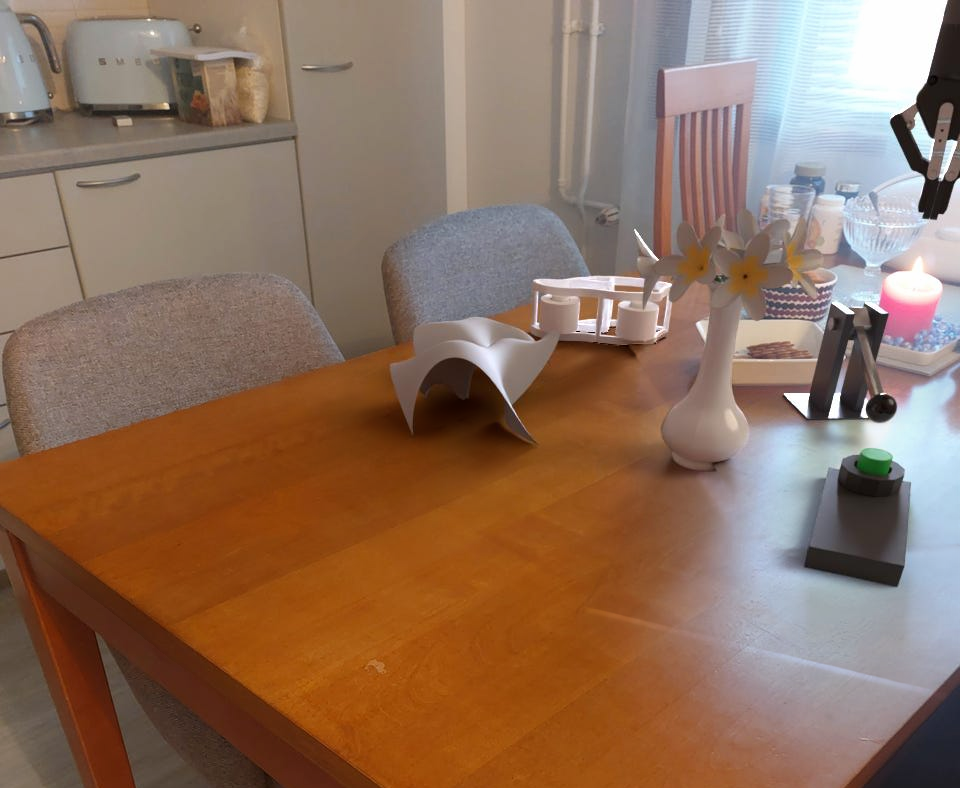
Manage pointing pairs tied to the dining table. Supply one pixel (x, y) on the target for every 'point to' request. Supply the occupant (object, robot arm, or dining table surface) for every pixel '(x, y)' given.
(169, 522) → the dining table surface
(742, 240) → the flower vase
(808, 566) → the dark box
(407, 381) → the sculpture
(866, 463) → the green button
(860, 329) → the switch lever
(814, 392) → the lever bracket
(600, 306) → the car outline toy
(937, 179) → the robot arm
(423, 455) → the dining table surface
